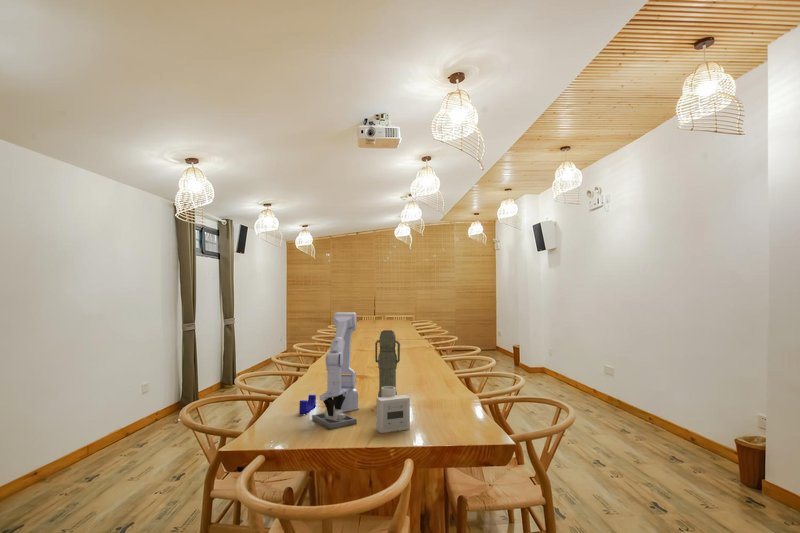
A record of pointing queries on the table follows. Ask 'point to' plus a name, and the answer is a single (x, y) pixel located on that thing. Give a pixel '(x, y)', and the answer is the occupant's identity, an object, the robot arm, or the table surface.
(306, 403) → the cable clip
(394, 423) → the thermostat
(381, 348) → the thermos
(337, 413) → the connector
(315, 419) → the tray
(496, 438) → the table surface
